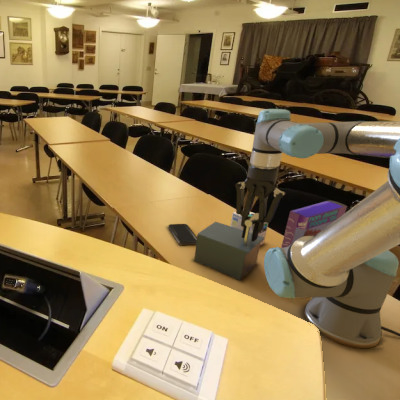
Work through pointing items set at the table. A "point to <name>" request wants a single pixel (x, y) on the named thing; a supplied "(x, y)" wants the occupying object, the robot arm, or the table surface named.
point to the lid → (233, 235)
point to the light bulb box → (237, 224)
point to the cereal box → (311, 220)
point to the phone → (183, 234)
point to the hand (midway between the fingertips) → (249, 237)
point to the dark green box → (225, 258)
